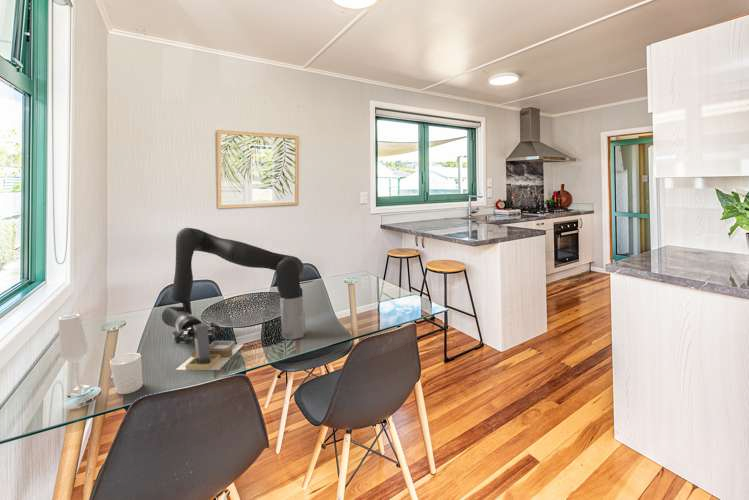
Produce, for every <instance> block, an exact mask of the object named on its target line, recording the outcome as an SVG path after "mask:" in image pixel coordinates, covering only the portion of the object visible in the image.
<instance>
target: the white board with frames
mask: <svg viewBox="0 0 749 500" xmlns="http://www.w3.org/2000/svg"><path fill="white" fill-rule="evenodd" d="M244 345H245V344H244V343H242V344H236V341H235V340H213V341H212V343H209V349H210V359H211V362H210V363H209V364H197V358H196V348H193V349H191V356H190V357H189V358H188V359H187V360H185V361H184V362H182V363H181V365H179V366H178V367H177V368H176V369H175V370H176V371H177V370H180V371H181V370H184V371H188V370H189V371H191V370H192V371H193V370H194V371H197V370H198V371H206V370H207V371H220V370H221V369H222V368H223V367H224V365H225V364H227V362H229V360H231V358H233V357H234V356H235V355H236V353H237V352H238V351H240V349H241V348H242V347H243V346H244Z"/></svg>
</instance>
